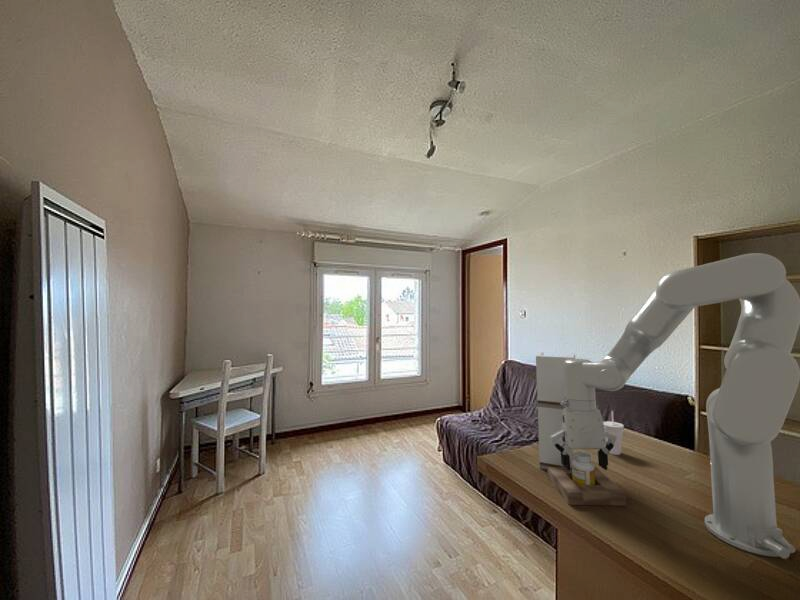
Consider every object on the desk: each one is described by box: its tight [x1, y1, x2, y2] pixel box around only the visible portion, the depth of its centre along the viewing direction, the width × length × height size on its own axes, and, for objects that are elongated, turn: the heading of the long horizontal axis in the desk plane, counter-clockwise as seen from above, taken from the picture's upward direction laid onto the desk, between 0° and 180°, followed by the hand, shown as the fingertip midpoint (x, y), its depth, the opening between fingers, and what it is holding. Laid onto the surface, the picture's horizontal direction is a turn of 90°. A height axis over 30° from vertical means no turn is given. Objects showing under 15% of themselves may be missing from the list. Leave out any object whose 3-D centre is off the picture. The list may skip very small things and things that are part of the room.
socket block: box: [546, 466, 627, 506], centre depth 91 cm, size 14×14×3 cm
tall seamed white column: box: [535, 351, 576, 471], centre depth 107 cm, size 11×11×35 cm
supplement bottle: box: [572, 450, 595, 485], centre depth 91 cm, size 5×5×10 cm
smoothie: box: [603, 410, 625, 456], centre depth 114 cm, size 6×6×14 cm
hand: (584, 467), depth 91 cm, fingers open, 9 cm apart
